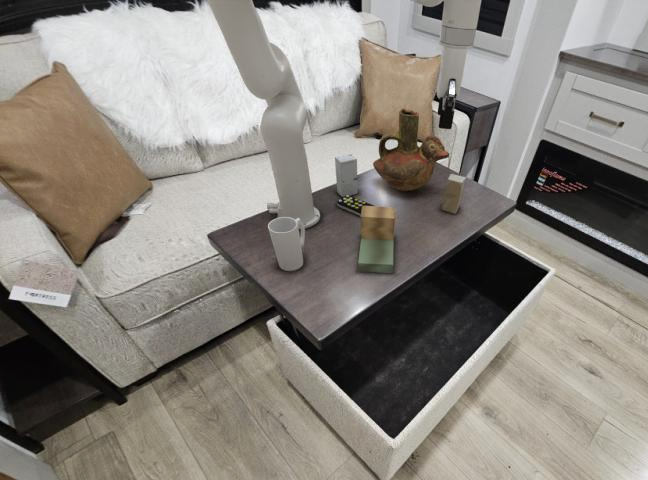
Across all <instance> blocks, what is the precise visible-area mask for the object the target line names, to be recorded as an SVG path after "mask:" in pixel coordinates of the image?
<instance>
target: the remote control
mask: <svg viewBox="0 0 648 480" xmlns="http://www.w3.org/2000/svg"><path fill="white" fill-rule="evenodd" d="M336 204H337V205H336V206H337V207H338V208H340V209H343V210H345V211H348V212H350V213H351V214H354V215H357V216H359V217H361V211H362V206H375V205H373V204H372V203H369V202H366V201H365V200H362V199H359V198H357V197H355V196H353V195H351V196H349V195H346V196H344V197H341V198H339V199H338V200H337V201H336Z"/></svg>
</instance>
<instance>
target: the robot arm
mask: <svg viewBox="0 0 648 480" xmlns="http://www.w3.org/2000/svg"><path fill="white" fill-rule="evenodd" d="M410 1H411V2H414V3H417V4H419V5H421V6H424V7H429V8H433V7H436V6H438V5H440V4H441V3H442V2H443V9H442V18H441V25H440V33H439V39H438V40H439V41H438V44H439V45H440V46H442V50H441V56H440V57H441V58H440V63H439V70H438V77H437V83H436V96H437V98H438V107H437V115H438V116H439V120H438V128H439V129H442V130H443V129H444V130H452V128H453V122H454V116H455V105H456V100H458V99H459V96H460V93H461V86H462V81H463V77H464V70H465V65H466V59H467V53H468V50H470V49H473V48H474V42H475V38H476V32H477V27H478V22H479V16H480V11H481V10H480V9H481V5H482V0H410ZM207 3H208V5H209V7H210V10H211V12H212V14H213V16H214V18H215V20H216V23H217V25H218V27H219V29H220V32H221V34H222V36H223V37H224V41H225V43H226V46H227V47H228V51H229V52H230V54H231V57H232V59H233V61H234V63H235V66H236V68H237V70H238V72H239V74H240V77H241V79H242V82H243V83H244V85H245V87H246V88H247V91H249V92H250V94H252V95H253V96H254V97H256V98H257V99H260V100H264V101H265V102H266V104H267V106H266V108H265V110H264V111H263V113H262V116H261V120H260V132H261V136H262V138H263V142H264V144H265V148H266V150H267V154H268V158H269V161H270V166H271V171H272V174H273V178H274V179H273V180H274V183H275V187H276V191H277V197H278V201H279V202H277V203H276V202H275V203H274V202H266V208H267V210H268V212H269V214H277V217H276V218H280V217H290V218H293V219H295V220H296V219H297V218H300V220H301V222H302V223H303V225H304V228H305V229H308V228H311V227H313V226H314V225H316V224H318V222H320V219H321V212H320V210H319V209H318V208H317V207H315V205H314V198H313V192H312V191H313V189H312V182H311V176H310V169H309V162H308V156H307V152H306V147H305V142H304V130H305V126H306V124H307V119H308V112H307V108H306V105H305V104H306V103H305V101H304V98H303V96H302V93H301V90H300V87H299V84H298V82H297V79H296V76H295V73H294V71H293V68H292V65H291V63H290V61H289V59H288V57H287V56H286V54H285V52H284V51H283V50H282V49H281V48H280V47H279V46H278V45H277V44H274V43H272V42H270V39H269V38H268V35H267V33H266V32H267V31H266V30H265V27H264V23H263V21H262V19H261V17H260V14H259V12H258V10H257V9H256V7H255V4H254V1H253V0H207ZM298 230H301V229H300V227H299V226H298Z"/></svg>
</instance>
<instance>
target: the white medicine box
mask: <svg viewBox="0 0 648 480" xmlns="http://www.w3.org/2000/svg"><path fill="white" fill-rule="evenodd" d="M334 166H335V181H336V193H337V194H338V195H339V196H340V197H341V198H343V197H344V196H346V195H349V196H355V195H357V194H359V193H358V192H359V191H358V187H359V186H358V159H357V158H356V157H355V156H354V155H352V154H351V153H350V154H343V155H339V156H335V157H334Z"/></svg>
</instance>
